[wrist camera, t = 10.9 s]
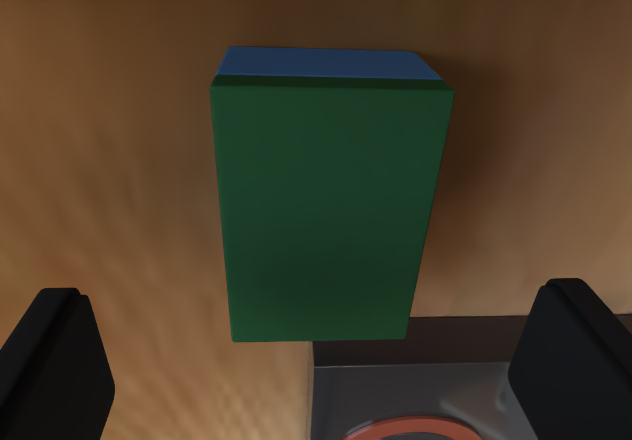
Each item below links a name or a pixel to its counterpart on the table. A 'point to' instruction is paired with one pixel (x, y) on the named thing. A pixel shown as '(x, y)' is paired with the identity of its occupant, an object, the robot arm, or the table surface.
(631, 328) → the hob
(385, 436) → the burner rings
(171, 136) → the table surface
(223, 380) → the table surface
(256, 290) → the sponge
